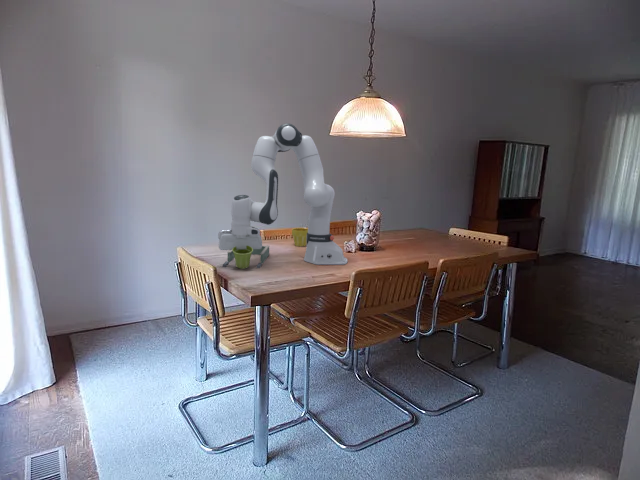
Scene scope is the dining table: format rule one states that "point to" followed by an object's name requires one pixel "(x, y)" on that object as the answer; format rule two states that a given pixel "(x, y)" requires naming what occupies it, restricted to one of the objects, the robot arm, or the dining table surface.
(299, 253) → the dining table surface
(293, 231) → the plant pot
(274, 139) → the robot arm
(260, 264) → the strips
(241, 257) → the plant pot
